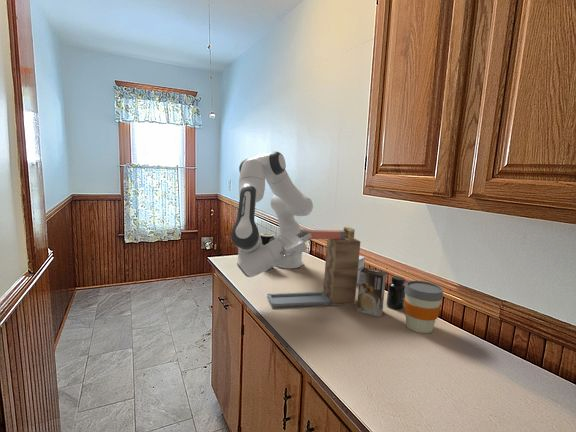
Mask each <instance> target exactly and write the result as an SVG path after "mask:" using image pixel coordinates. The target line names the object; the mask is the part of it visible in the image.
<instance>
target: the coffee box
mask: <svg viewBox="0 0 576 432" xmlns="http://www.w3.org/2000/svg"><path fill="white" fill-rule="evenodd" d="M386 276H387V271H384V270H377V269H373V268H370V267H369V268H367V267H364V268H363V269H362V270H361V271H360V277H359V283H358V290H357V303H356V312H360V313H363V314H367V315H371V316H375V317H377V318H379V317H381V316H382V314H383V312H384V311H383V310H384V300H385V299H384V298H385V289H386V288H385V287H386V281H387V280H386V279H387V277H386Z"/></svg>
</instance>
